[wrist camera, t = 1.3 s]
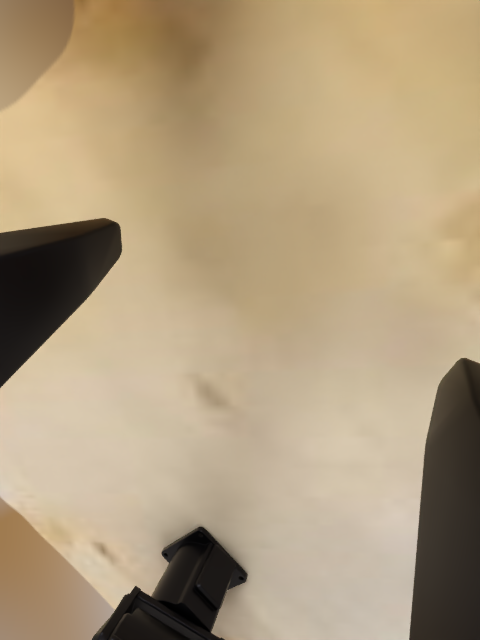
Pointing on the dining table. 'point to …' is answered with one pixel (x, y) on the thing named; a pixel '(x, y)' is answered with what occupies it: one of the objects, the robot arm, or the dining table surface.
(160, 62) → the dining table surface
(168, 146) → the dining table surface
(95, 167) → the dining table surface
